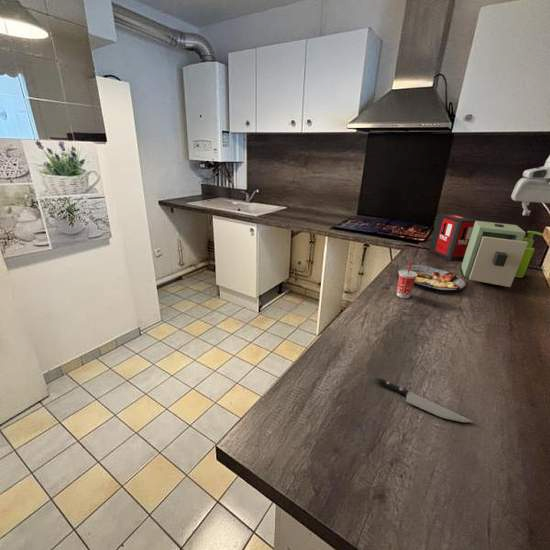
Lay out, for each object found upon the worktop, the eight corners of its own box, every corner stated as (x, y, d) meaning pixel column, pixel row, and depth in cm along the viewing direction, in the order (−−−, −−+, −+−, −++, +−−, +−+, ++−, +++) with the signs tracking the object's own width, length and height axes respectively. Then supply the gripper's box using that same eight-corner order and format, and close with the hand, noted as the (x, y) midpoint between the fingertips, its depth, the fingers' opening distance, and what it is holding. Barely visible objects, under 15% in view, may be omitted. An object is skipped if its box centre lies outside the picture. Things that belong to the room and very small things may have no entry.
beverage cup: (413, 294, 108) (422, 259, 103) (410, 300, 104) (419, 264, 98) (396, 290, 112) (404, 255, 106) (392, 296, 107) (400, 260, 101)
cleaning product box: (465, 260, 146) (478, 220, 139) (450, 260, 145) (462, 221, 137) (442, 249, 161) (452, 213, 153) (428, 250, 160) (438, 213, 152)
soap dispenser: (524, 279, 126) (542, 234, 118) (505, 274, 130) (521, 230, 123) (527, 276, 129) (545, 232, 121) (509, 271, 134) (525, 228, 126)
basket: (512, 291, 110) (531, 245, 102) (470, 283, 115) (485, 239, 108) (503, 275, 124) (518, 234, 117) (465, 269, 129) (478, 229, 122)
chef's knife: (472, 434, 55) (473, 422, 57) (474, 430, 54) (475, 418, 57) (372, 387, 65) (376, 379, 67) (373, 384, 64) (377, 375, 66)
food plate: (467, 280, 123) (470, 272, 121) (460, 300, 105) (463, 292, 104) (405, 265, 136) (407, 258, 135) (390, 281, 119) (392, 273, 117)
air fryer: (505, 284, 120) (526, 231, 111) (464, 276, 126) (480, 225, 117) (499, 272, 132) (517, 223, 123) (461, 266, 138) (475, 219, 129)
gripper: (599, 173, 89) (580, 218, 95) (518, 170, 97) (504, 212, 103) (610, 175, 84) (589, 222, 89) (523, 171, 92) (508, 215, 97)
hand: (543, 217), depth 96 cm, fingers open, 8 cm apart
